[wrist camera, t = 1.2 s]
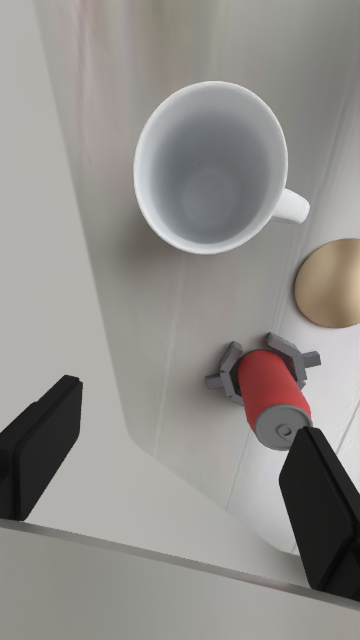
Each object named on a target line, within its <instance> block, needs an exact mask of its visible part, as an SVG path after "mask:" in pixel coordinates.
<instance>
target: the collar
mask: <svg viewBox="0 0 360 640" xmlns="http://www.w3.org/2000/svg"><path fill="white" fill-rule="evenodd" d="M265 340H266V342H267V343H268V345H269V346H271V347H273V348H275V349H277V350H279V351H281V352H283V353H285V354H287V355H288V356H289V357H290V362H291V366H292V371H293V374H292V375H291V376H292V377H293V379H294V381H295V382H296V384H297V386H298V387H299V389H300V391H301V389H302V388H303V387H304V386H305V384H306V383H305V382H304V380H307V376H306V371H305V368H309V367H313V366H318V365H321V361H320V355H319V353H318V352H317V351H315V352H310V353H306V354H301V353H300V351H299V350H298V349H297V348H296V346H295V345H294V344H292V343H290V342H288V341H286V340H284V339H282V338H281V337H279V336H277V335H275V334H273V333H271V332H270V333H269V334H268V336H267V337H266V338H265ZM242 352H243V350H242V347H241V345H240V344H238V343H236V342H234V341H233V343H232V344H231V346H230V347H229V349H228V350H227V352H226V354H225V355H224V357H223V358H222V360H221V361H220V366H219V369H220V373H219V374H214V375H210V376H206V382H207V385H208V388H209V389H213V388H217V387H222V386H224V388H225V391H226V395H227V396H229V397H230V400H232V401H234V402H236V403H238V404H240V405H242V406H244V403H243V398H242V394H241V389H239V388H237V387H235V386H234V385H233V382H232V378H231V375H230V372H229V371H230V370H231V368H232V367H233V365H234V364H235V362H236V361H237V359H238V358H239V356H240V355H241V353H242Z"/></svg>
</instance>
